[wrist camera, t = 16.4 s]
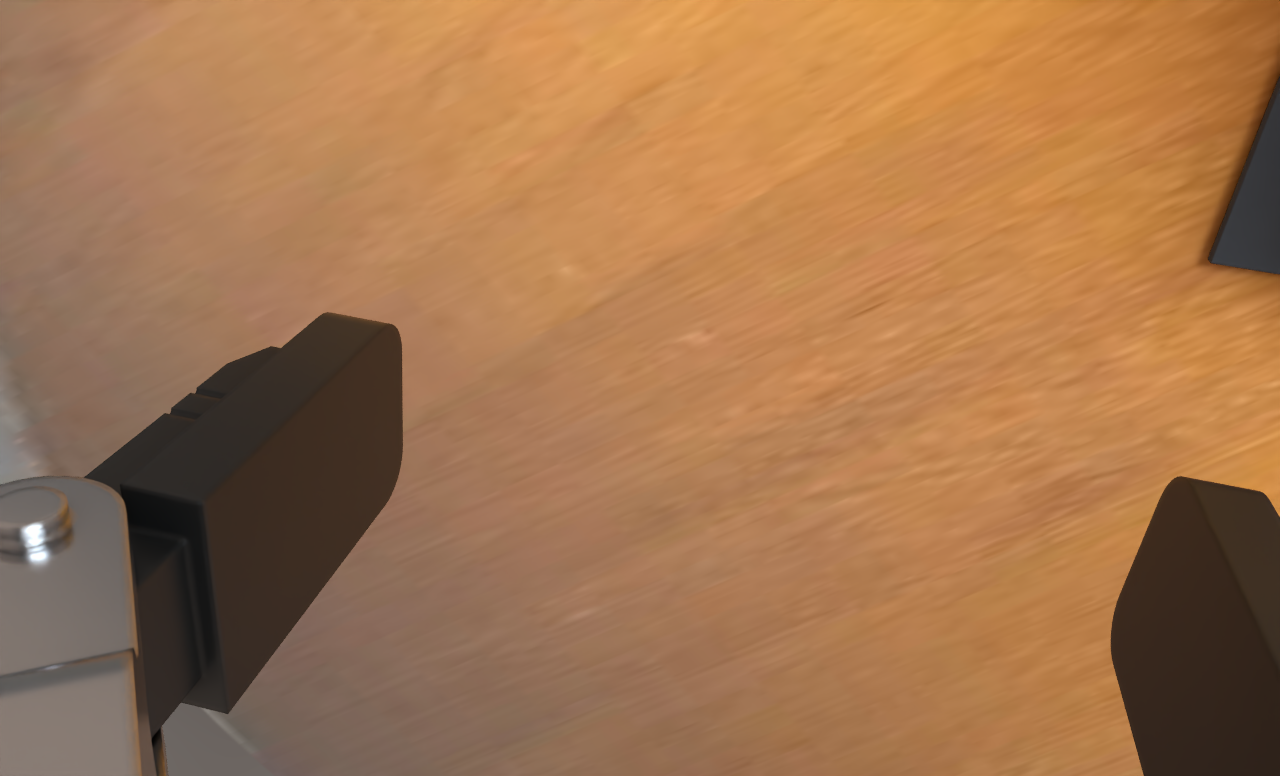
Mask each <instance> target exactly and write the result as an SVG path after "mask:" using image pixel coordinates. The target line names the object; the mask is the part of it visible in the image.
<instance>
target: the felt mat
mask: <svg viewBox="0 0 1280 776" xmlns="http://www.w3.org/2000/svg"><path fill="white" fill-rule="evenodd" d="M1208 260H1209V261H1210V263H1213V264H1219V265H1225V266H1231V267H1237V268H1243V269H1249V270H1256V271H1262V272H1268V273H1274V274H1280V76H1279V79H1278V81H1277V84H1276V86H1275V89H1274V91H1273V94H1272V97H1271V99H1270V102H1269V104H1268V107H1267V109H1266V112H1265V114H1264V117H1263V120H1262V122H1261V125H1260V127H1259V130H1258V132H1257V135H1256V137H1255V140H1254V143H1253V145H1252V148H1251V150H1250V153H1249V155H1248V158H1247V160H1246V163H1245V165H1244V168H1243V171H1242V173H1241V176H1240V178H1239V181H1238V183H1237V186H1236V188H1235V191H1234V194H1233V196H1232V199H1231V201H1230V204H1229V206H1228V209H1227V211H1226V214H1225V217H1224V219H1223V222H1222V224H1221V227H1220V229H1219V232H1218V234H1217V237H1216V239H1215V242H1214V245H1213V247H1212V250H1211V252H1210V255H1209V257H1208Z"/></svg>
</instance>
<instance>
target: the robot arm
mask: <svg viewBox="0 0 1280 776" xmlns="http://www.w3.org/2000/svg"><path fill="white" fill-rule="evenodd" d="M402 452H403V420H402V344H401V337H400V334H399V331H398V329H397V328H396V327H395V326H394V325H392V324H388V323H383V322H377V321H372V320H367V319H362V318H356V317H351V316H346V315H341V314H335V313H329V312H327V313H323V314H322V315H320V316H319V317H318V318H316V319H315V320H314V321H313V322H312V323H310V324H309V325H308V326H307V327H306V328H304V329H303V330H302V331H301V332H300V333H299V334H297V335H296V336H295V337H294V338H293V339H291V340H290V341H289V342H288V343H287V344H285V345H284V346H283V347H282V348H277V347H272V346H271V347H268V348H266V349H263V350H261V351H258V352H256V353H253V354H251V355H248V356H246V357H243V358H240V359H238V360H235V361H233V362H230V363H228V364H226V365H225V366H224V367H222V368H221V369H220V370H219V371H217V372H216V373H215V374H214V375H212V376H211V377H210V378H209V379H207V380H206V381H205V382H204V383H202V384H201V385H200V386H199V387H197V391H196V393H195V394H194V393H190V394H188V395H187V396H186V397H185V398H183V399H182V400H181V401H180V402H178V403H177V404H176V405H175V406H173V407H172V408H171V413H170V414H166V413H165V414H163V415H162V416H161V417H160V418H158V419H157V420H156V421H154V422H153V423H152V424H151V425H149V426H148V427H147V428H146V429H144V430H143V431H142V432H141V433H139V434H138V435H137V436H136V437H134V438H133V439H132V440H131V441H129V442H128V443H127V444H126V445H124V446H123V447H122V448H121V449H119V450H118V451H117V452H115V453H114V454H113V455H112V456H110V457H109V458H108V459H107V460H105V461H104V462H103V463H102V464H100V465H99V466H98V467H97V468H95V469H94V470H93V471H92V472H90V473H89V474H88V475H87V476H85V477H84V478H81V477H74V476H43V477H33V478H27V479H22V480H16V481H12V482H9V483H5V484H1V485H0V776H168V767H167V758H166V748H165V742H164V735H163V729H162V725H163V724H164V723H165V721H166V720H167V719H168V718H169V716H170V715H171V714H172V712H174V710H175V709H176V708H177V707H178V705H179V704H180V703H186V704H190V705H194V706H198V707H202V708H206V709H210V710H214V711H218V712H222V713H226V714H228V713H229V712H230V711H231V709H232V708H233V707H234V705H235V704H236V703H237V701H238V700H239V699H240V697H241V696H242V695H243V693H244V692H245V691H246V689H247V688H248V687H249V685H250V684H251V683H252V681H253V680H254V679H255V677H256V676H257V675H258V673H259V672H260V671H261V669H262V668H263V667H264V665H265V664H266V663H267V662H268V660H269V659H270V658H271V656H272V655H273V654H274V652H275V651H276V650H277V648H278V647H279V646H280V644H281V643H282V642H283V640H284V639H285V638H286V636H287V635H288V634H289V632H290V631H291V630H292V628H293V627H294V626H295V624H296V623H297V622H298V620H299V619H300V618H301V616H302V615H303V614H304V612H305V611H306V610H307V608H308V607H309V606H310V604H311V603H312V602H313V600H314V599H315V598H316V596H317V595H318V594H319V592H320V591H321V590H322V588H323V587H324V586H325V585H326V583H327V582H328V581H329V579H330V578H331V577H332V575H333V574H334V573H335V571H336V570H337V569H338V567H339V566H340V565H341V563H342V562H343V561H344V559H345V558H346V557H347V555H348V554H349V553H350V551H351V550H352V549H353V547H354V546H355V545H356V543H357V542H358V541H359V539H360V538H361V537H362V535H363V534H364V533H365V531H366V530H367V529H368V527H369V526H370V525H371V523H372V522H373V521H374V519H375V518H376V517H377V515H378V514H379V513H380V512H381V510H382V509H383V508H384V506H385V505H386V503H387V502H388V500H389V498H390V496H391V494H392V492H393V490H394V487H395V485H396V482H397V478H398V475H399V471H400V467H401V461H402ZM1111 654H1112V661H1113V665H1114V669H1115V672H1116V676H1117V680H1118V683H1119V687H1120V690H1121V694H1122V698H1123V701H1124V705H1125V709H1126V712H1127V716H1128V720H1129V723H1130V727H1131V730H1132V734H1133V738H1134V741H1135V745H1136V749H1137V752H1138V756H1139V760H1140V763H1141V767H1142V770H1143V774H1144V776H1280V517H1279V516H1278V514H1277V512H1276V510H1275V509H1274V507H1273V505H1272V503H1271V502H1270V500H1269V499H1268V497H1267V496H1266V495H1265V494H1264V493H1262V492H1260V491H1256V490H1250V489H1245V488H1240V487H1235V486H1229V485H1224V484H1219V483H1214V482H1208V481H1203V480H1198V479H1193V478H1187V477H1182V476H1180V477H1176V478H1174V479H1173V480H1172V481H1171V482H1170V483H1169V484H1168V485H1167V487H1166V488H1165V490H1164V492H1163V493H1162V495H1161V498H1160V500H1159V502H1158V504H1157V507H1156V509H1155V512H1154V514H1153V516H1152V519H1151V521H1150V524H1149V526H1148V528H1147V531H1146V533H1145V536H1144V538H1143V540H1142V543H1141V545H1140V548H1139V550H1138V552H1137V555H1136V557H1135V560H1134V562H1133V564H1132V567H1131V569H1130V571H1129V574H1128V576H1127V579H1126V581H1125V583H1124V586H1123V588H1122V591H1121V593H1120V595H1119V598H1118V601H1117V604H1116V608H1115V611H1114V616H1113V622H1112V630H1111Z"/></svg>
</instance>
